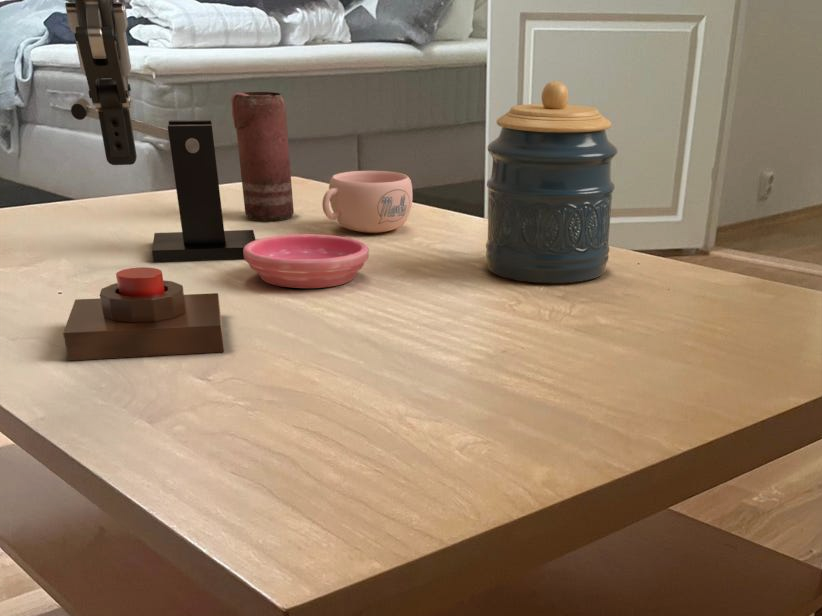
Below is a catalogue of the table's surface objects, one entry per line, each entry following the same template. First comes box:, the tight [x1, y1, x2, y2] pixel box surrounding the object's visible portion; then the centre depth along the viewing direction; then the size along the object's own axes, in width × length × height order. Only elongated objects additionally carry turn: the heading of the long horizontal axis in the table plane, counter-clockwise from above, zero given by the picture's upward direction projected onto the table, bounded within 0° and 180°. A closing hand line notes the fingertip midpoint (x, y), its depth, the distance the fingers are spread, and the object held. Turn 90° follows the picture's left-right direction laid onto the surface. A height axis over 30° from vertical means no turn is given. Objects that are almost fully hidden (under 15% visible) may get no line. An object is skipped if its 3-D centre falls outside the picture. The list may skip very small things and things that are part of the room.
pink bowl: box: [243, 233, 369, 289], centre depth 101 cm, size 12×12×3 cm
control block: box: [62, 279, 225, 362], centre depth 83 cm, size 12×10×4 cm
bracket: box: [151, 119, 257, 263], centre depth 108 cm, size 11×9×13 cm
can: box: [230, 91, 295, 222], centre depth 124 cm, size 6×6×14 cm
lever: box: [70, 98, 170, 142], centre depth 104 cm, size 13×5×2 cm, turn 104°
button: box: [115, 266, 165, 297], centre depth 82 cm, size 4×4×2 cm
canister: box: [485, 80, 618, 284], centre depth 102 cm, size 13×13×18 cm
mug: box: [321, 170, 414, 234], centre depth 120 cm, size 12×10×6 cm
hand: (122, 163), depth 78 cm, fingers closed
